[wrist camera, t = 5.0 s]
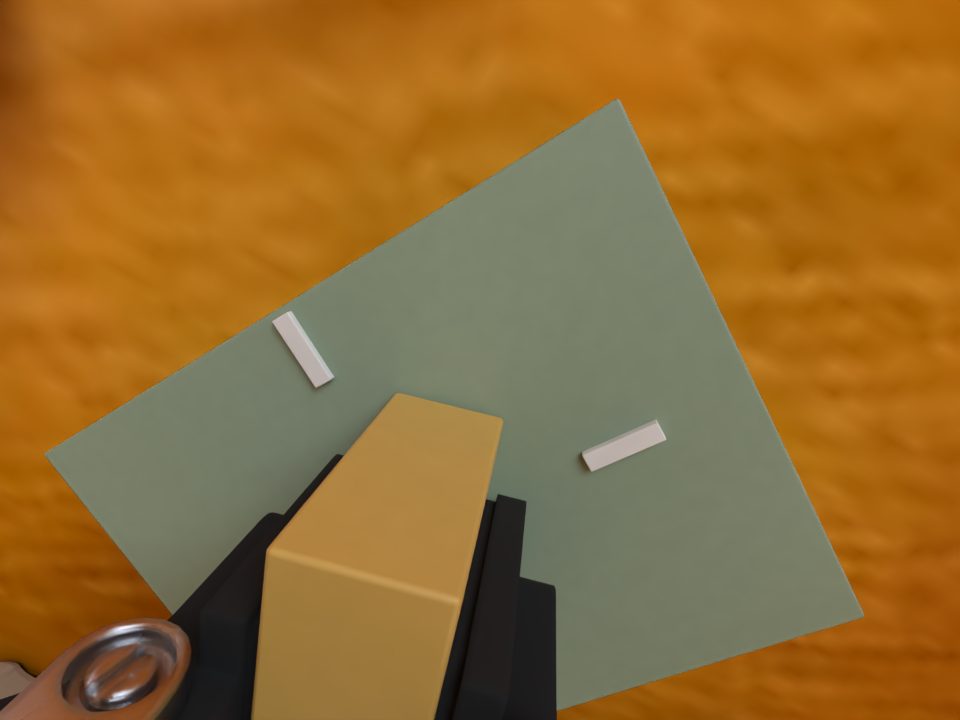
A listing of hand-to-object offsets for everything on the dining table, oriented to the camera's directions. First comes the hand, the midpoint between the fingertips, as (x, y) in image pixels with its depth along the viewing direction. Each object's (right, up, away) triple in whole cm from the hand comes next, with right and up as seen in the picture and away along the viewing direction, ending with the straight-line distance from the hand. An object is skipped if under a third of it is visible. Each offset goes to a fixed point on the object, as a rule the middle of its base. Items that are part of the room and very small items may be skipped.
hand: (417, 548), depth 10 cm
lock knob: (0, 0, 0) cm, 0 cm away
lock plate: (+1, +1, +3) cm, 4 cm away
